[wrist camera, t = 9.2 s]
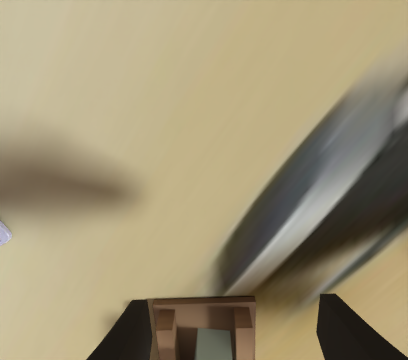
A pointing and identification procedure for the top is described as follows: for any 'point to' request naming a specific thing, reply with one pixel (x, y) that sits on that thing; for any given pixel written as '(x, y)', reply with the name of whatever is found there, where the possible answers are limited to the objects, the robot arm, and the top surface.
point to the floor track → (204, 325)
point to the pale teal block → (213, 345)
